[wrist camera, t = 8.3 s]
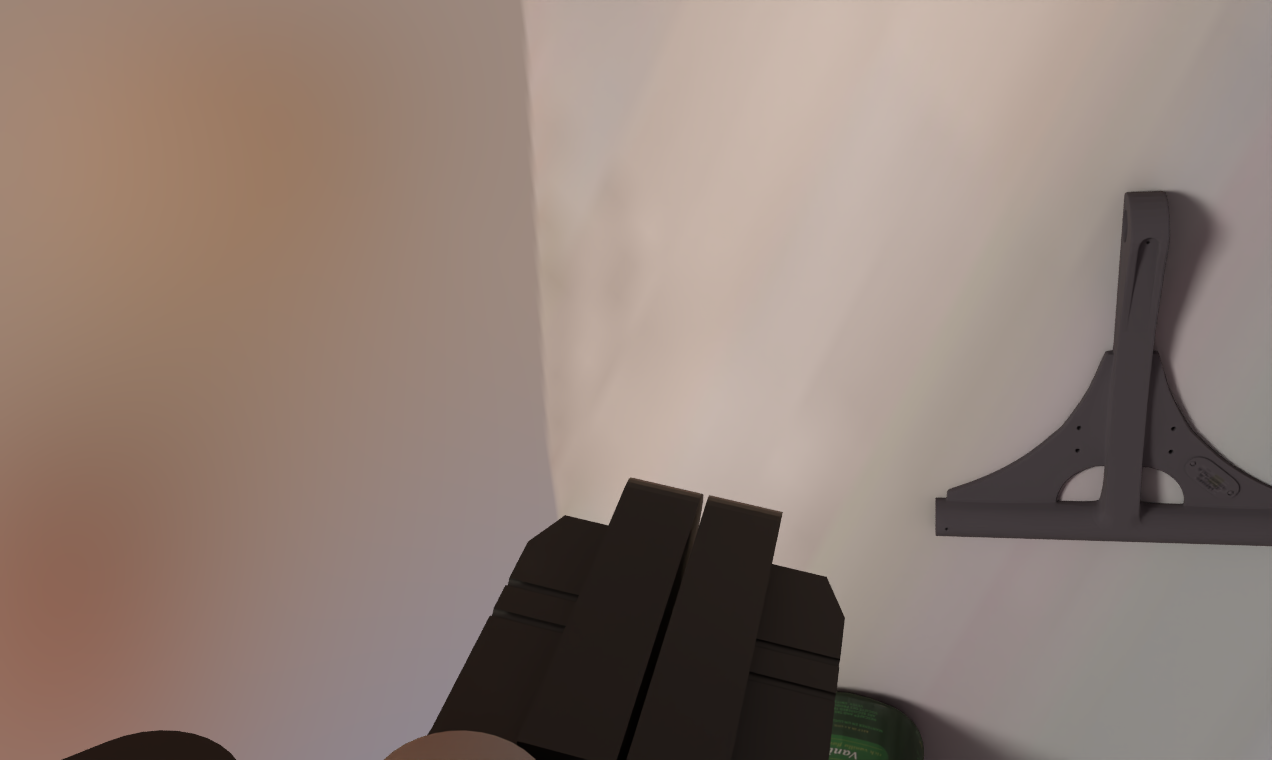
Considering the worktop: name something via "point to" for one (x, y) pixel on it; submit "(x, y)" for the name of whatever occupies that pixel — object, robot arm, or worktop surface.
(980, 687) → the worktop surface
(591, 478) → the worktop surface
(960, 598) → the worktop surface
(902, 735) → the coffee jar
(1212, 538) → the bracket
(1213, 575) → the worktop surface
